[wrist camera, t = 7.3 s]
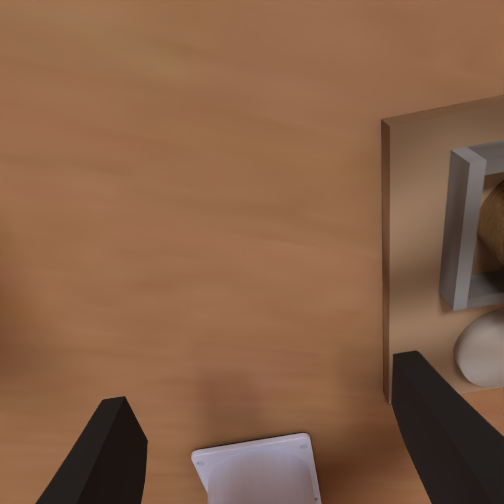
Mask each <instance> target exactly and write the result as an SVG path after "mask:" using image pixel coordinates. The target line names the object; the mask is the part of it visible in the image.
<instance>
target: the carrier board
mask: <svg viewBox="0 0 504 504" xmlns="http://www.w3.org/2000/svg"><path fill="white" fill-rule="evenodd" d="M503 180H504V95H503V96H498V97H493V98H488V99H483V100H477V101H472V102H467V103H462V104H457V105H452V106H447V107H442V108H437V109H432V110H427V111H422V112H417V113H411V114H406V115H401V116H396V117H391V118H386V119H382V242H383V375H384V394H385V397H386V399H387V402H388V404H389V406H390V405H392V404H391V396H392V369H393V354H396V353H402V352H409V351H415V350H417V351H418V352H420V353H421V354H422V355H423V356H424V358H425V359H426V360H427V361H428V362H429V363H430V364H431V365H432V366H433V367H434V369H435V370H436V371H437V372H438V373H439V374H440V375H441V376H442V377H443V378H444V379H445V380H446V381H447V382H448V383H449V384H450V385H451V386H452V387H453V388H454V389H455V390H456V391H457V393H458V394H463V393H470V392H476V391H482V390H488V389H494V388H500V387H504V265H503V264H502V263H501V262H500V261H499V260H498V259H497V258H496V257H495V256H494V255H493V254H492V253H491V252H490V251H489V250H488V249H487V248H486V247H485V246H484V245H483V244H482V242H481V241H480V239H479V237H478V235H477V227H478V220H479V213H480V208H481V206H482V204H483V202H484V200H485V199H486V197H487V196H488V195H489V193H490V192H491V191H492V190H493V189H494V188H495V187H496V186H497V185H498V184H499V183H500V182H501V181H503Z"/></svg>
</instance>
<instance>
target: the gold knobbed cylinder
mask: <svg viewBox="0 0 504 504" xmlns="http://www.w3.org/2000/svg"><path fill="white" fill-rule="evenodd" d="M477 235H478V237H479V239H480V241H481V242H482V244H483V245H484V246H485V247H486V248H487V249H488V250H489V251H490V252H491V253H492V254H493V255H494V256H495V257H496V258H497V259H498V260H499V261H500V262H501V263H502V264H503V265H504V180H503V181H501V182H500V183H499V184H498V185H497V186H496V187H495V188H494V189H493V190H492V191H491V192H490V193H489V195H488V196H487V197H486V199H485V200H484V202H483V204H482V206H481V208H480V213H479V220H478V227H477Z"/></svg>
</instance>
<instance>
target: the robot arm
mask: <svg viewBox="0 0 504 504" xmlns="http://www.w3.org/2000/svg"><path fill="white" fill-rule="evenodd" d="M391 404H392V407H393V410H394V413H395V416H396V420H397V423H398V426H399V429H400V432H401V434H402V437H403V440H404V443H405V445H406V447H407V450H408V452H409V454H410V456H411V459H412V461H413V463H414V465H415V468H416V470H417V472H418V474H419V476H420V479H421V481H422V483H423V485H424V487H425V490H426V492H427V494H428V496H429V498H430V501H431V503H432V504H504V436H503V435H501V434H500V433H499V432H498V431H497V430H496V429H495V428H494V427H493V426H492V425H491V424H490V423H488V422H487V421H486V420H485V419H484V418H483V417H482V416H481V415H480V414H479V413H478V412H477V411H476V410H475V409H474V408H473V407H472V406H471V405H470V404H469V403H468V402H467V401H466V400H464V399H463V398H462V397H461V396H460V395H459V394H458V393H457V391H456V390H455V389H454V388H453V387H452V386H451V385H450V384H449V383H448V382H447V381H446V380H445V379H444V378H443V377H442V376H441V375H440V374H439V373H438V372H437V371H436V370H435V369H434V367H433V366H432V365H431V364H430V363H429V362H428V361H427V360H426V359H425V358H424V356H423V355H422V354H421V353H420V352H418V351H417V350H415V351H409V352H402V353H396V354H393V369H392V396H391ZM147 444H148V440H147V438H146V436H145V434H144V432H143V430H142V429H141V427H140V425H139V423H138V421H137V419H136V417H135V415H134V413H133V411H132V409H131V407H130V405H129V403H128V401H127V399H126V397H125V396H123V397H116V398H110V399H104V400H102V402H101V403H100V404H99V406H98V408H97V409H96V411H95V412H94V414H93V416H92V417H91V419H90V420H89V422H88V424H87V425H86V427H85V429H84V430H83V432H82V433H81V435H80V437H79V438H78V440H77V441H76V443H75V445H74V446H73V448H72V449H71V451H70V453H69V454H68V456H67V457H66V459H65V460H64V462H63V463H62V465H61V466H60V468H59V469H58V471H57V473H56V474H55V476H54V477H53V479H52V480H51V482H50V483H49V485H48V486H47V488H46V489H45V491H44V492H43V494H42V495H41V496H40V498H39V499H38V501H37V502H36V503H35V504H141V500H142V495H143V489H144V483H145V474H146V461H147ZM191 459H192V462H193V464H194V466H195V468H196V470H197V472H198V475H199V477H200V479H201V481H202V483H203V485H204V487H205V490H206V492H207V494H208V504H322V503H321V497H320V492H319V486H318V480H317V475H316V469H315V463H314V457H313V452H312V446H311V440H310V436H309V435H308V434H307V433H298V434H292V435H286V436H280V437H274V438H268V439H261V440H255V441H249V442H243V443H237V444H231V445H224V446H218V447H212V448H206V449H200V450H195V451H194V452H192V457H191Z"/></svg>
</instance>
